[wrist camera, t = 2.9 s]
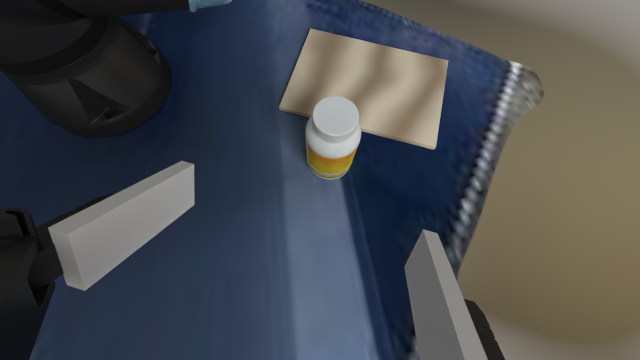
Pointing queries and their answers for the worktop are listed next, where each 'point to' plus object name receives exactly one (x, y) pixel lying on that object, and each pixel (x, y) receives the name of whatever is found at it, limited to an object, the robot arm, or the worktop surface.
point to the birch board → (371, 86)
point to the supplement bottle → (332, 137)
